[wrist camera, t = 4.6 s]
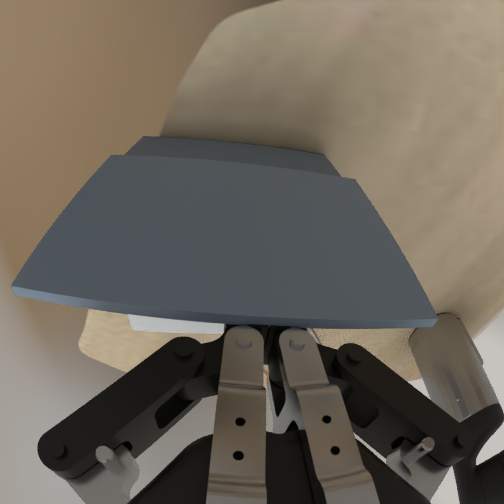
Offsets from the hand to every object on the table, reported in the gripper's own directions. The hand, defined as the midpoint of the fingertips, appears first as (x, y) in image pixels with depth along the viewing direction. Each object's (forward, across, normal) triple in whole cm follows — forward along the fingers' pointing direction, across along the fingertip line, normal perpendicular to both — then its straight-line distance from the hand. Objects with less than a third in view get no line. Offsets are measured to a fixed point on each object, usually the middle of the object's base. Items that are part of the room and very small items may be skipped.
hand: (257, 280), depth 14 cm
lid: (+3, +1, -1) cm, 3 cm away
